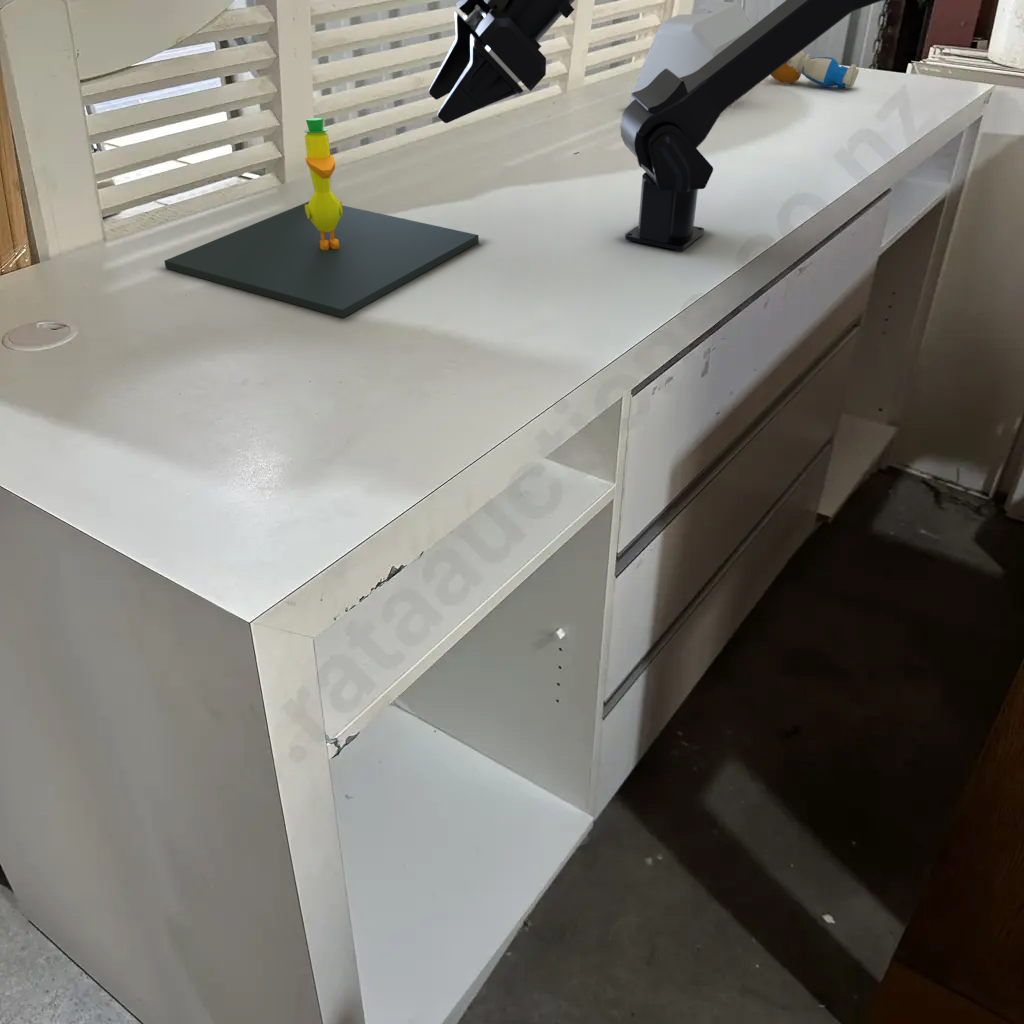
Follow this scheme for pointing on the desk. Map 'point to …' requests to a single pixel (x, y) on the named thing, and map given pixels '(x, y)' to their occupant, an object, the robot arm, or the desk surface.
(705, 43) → the tank
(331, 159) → the toy figure
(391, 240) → the mat
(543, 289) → the desk surface
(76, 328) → the desk surface
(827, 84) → the toy
